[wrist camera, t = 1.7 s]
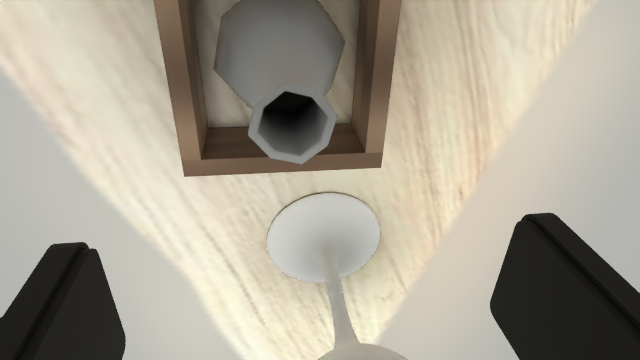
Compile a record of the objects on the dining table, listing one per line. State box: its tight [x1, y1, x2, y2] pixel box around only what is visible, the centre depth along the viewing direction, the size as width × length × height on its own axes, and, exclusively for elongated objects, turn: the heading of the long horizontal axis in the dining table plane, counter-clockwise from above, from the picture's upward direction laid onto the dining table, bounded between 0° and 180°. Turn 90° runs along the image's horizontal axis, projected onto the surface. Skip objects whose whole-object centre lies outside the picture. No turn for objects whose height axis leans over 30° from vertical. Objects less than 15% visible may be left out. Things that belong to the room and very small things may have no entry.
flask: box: [213, 0, 346, 164], centre depth 19 cm, size 7×7×10 cm
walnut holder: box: [154, 0, 401, 177], centre depth 22 cm, size 11×11×4 cm
